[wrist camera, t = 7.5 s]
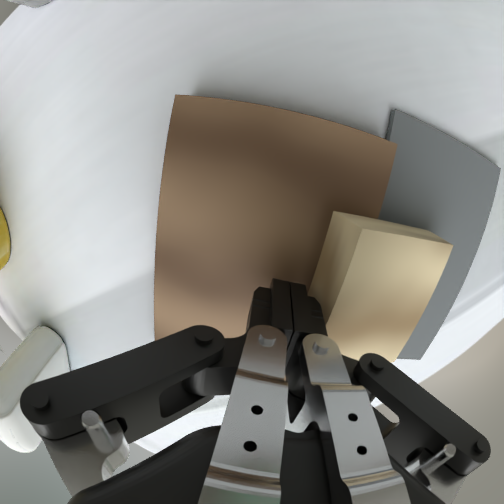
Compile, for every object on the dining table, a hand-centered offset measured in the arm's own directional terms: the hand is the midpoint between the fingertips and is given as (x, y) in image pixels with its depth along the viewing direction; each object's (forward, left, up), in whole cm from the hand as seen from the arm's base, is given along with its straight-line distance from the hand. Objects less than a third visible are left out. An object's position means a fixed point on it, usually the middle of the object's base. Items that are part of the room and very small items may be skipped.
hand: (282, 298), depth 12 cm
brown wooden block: (0, -1, -3) cm, 3 cm away
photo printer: (+16, -19, -3) cm, 25 cm away
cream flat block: (0, +4, -1) cm, 5 cm away
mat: (-3, +8, -3) cm, 9 cm away
